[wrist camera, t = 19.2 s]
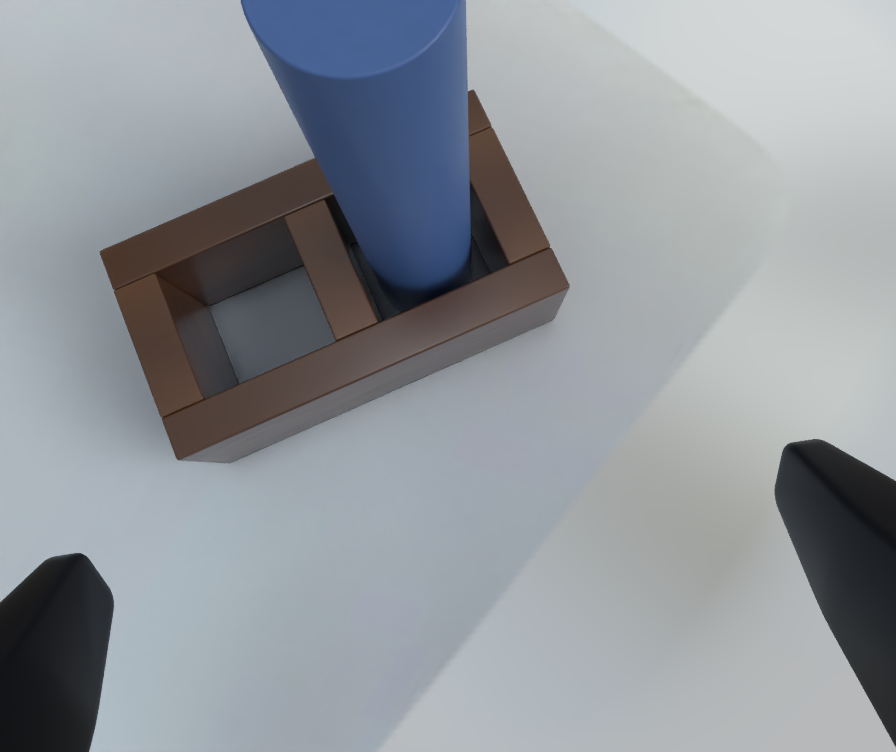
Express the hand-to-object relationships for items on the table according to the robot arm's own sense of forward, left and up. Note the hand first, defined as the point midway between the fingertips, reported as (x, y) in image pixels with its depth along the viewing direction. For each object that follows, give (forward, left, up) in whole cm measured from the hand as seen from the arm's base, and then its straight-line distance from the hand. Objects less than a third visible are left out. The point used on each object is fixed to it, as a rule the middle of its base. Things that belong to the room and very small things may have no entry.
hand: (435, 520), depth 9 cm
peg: (+7, -2, -14) cm, 16 cm away
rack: (+7, +1, -14) cm, 15 cm away
